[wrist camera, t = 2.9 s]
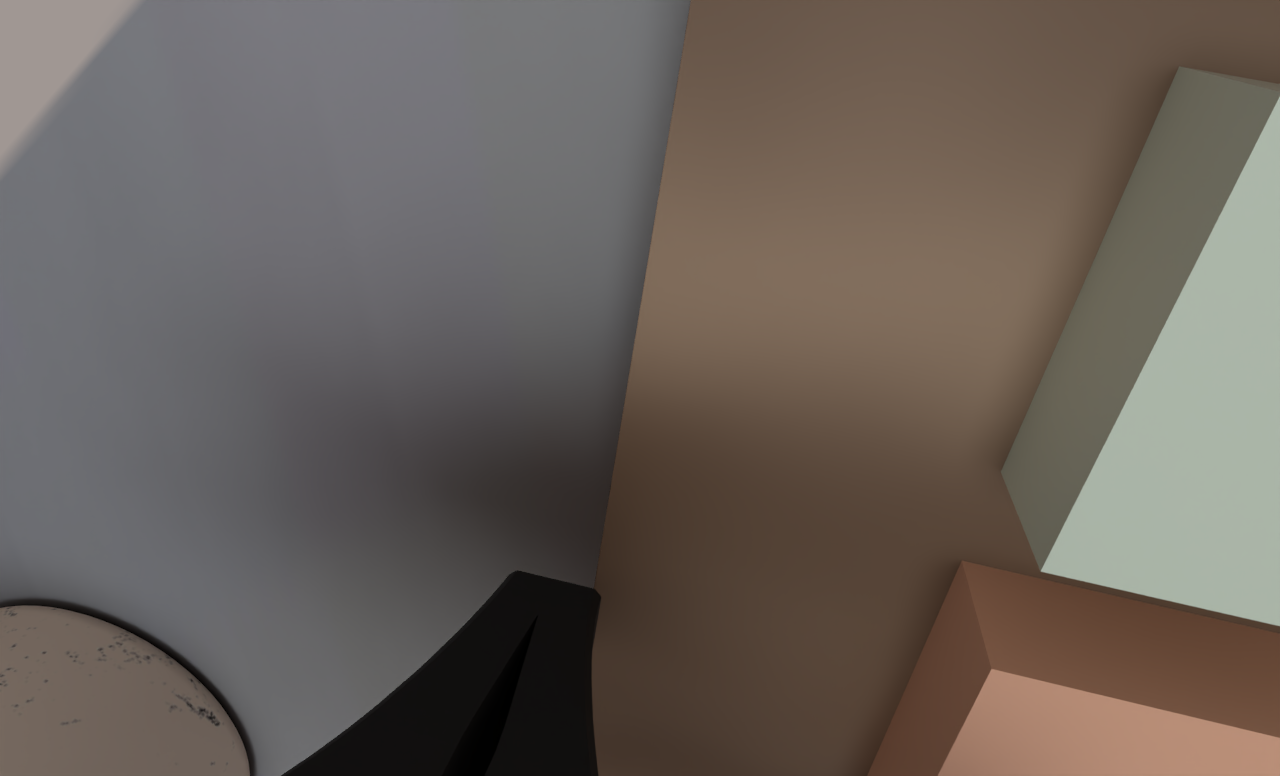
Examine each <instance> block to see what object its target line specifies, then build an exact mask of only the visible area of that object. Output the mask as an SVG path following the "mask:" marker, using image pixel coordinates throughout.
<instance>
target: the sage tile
mask: <svg viewBox="0 0 1280 776" xmlns="http://www.w3.org/2000/svg"><path fill="white" fill-rule="evenodd" d="M1001 474H1002V476H1003V479H1004V481H1005V484H1006V486H1007V489H1008V491H1009V494H1010V496H1011V499H1012V501H1013V504H1014V506H1015V509H1016V511H1017V514H1018V516H1019V519H1020V521H1021V524H1022V526H1023V529H1024V531H1025V534H1026V536H1027V539H1028V541H1029V544H1030V546H1031V549H1032V551H1033V554H1034V556H1035V559H1036V561H1037V564H1038V566H1039V569H1040V571H1041V572H1045V573H1049V574H1054V575H1058V576H1063V577H1067V578H1071V579H1076V580H1080V581H1084V582H1089V583H1093V584H1098V585H1102V586H1106V587H1111V588H1115V589H1119V590H1124V591H1128V592H1133V593H1137V594H1141V595H1146V596H1150V597H1154V598H1159V599H1163V600H1167V601H1172V602H1176V603H1181V604H1185V605H1189V606H1194V607H1198V608H1202V609H1207V610H1211V611H1216V612H1220V613H1224V614H1229V615H1233V616H1237V617H1242V618H1246V619H1251V620H1255V621H1259V622H1264V623H1268V624H1272V625H1277V626H1280V84H1277V83H1271V82H1265V81H1260V80H1254V79H1248V78H1243V77H1237V76H1231V75H1226V74H1220V73H1214V72H1209V71H1203V70H1197V69H1192V68H1186V67H1180V66H1179V68H1178V70H1177V73H1176V75H1175V77H1174V79H1173V82H1172V84H1171V86H1170V88H1169V91H1168V93H1167V95H1166V98H1165V100H1164V102H1163V104H1162V107H1161V109H1160V111H1159V113H1158V116H1157V118H1156V120H1155V123H1154V125H1153V127H1152V129H1151V132H1150V134H1149V136H1148V138H1147V141H1146V143H1145V145H1144V148H1143V150H1142V152H1141V154H1140V157H1139V159H1138V161H1137V163H1136V166H1135V168H1134V170H1133V173H1132V175H1131V177H1130V179H1129V182H1128V184H1127V186H1126V188H1125V191H1124V193H1123V195H1122V198H1121V200H1120V202H1119V204H1118V207H1117V209H1116V211H1115V213H1114V216H1113V218H1112V220H1111V223H1110V225H1109V227H1108V229H1107V232H1106V234H1105V236H1104V238H1103V241H1102V243H1101V245H1100V248H1099V250H1098V252H1097V254H1096V257H1095V259H1094V261H1093V264H1092V266H1091V268H1090V270H1089V273H1088V275H1087V277H1086V279H1085V282H1084V284H1083V286H1082V289H1081V291H1080V293H1079V295H1078V298H1077V300H1076V302H1075V304H1074V307H1073V309H1072V311H1071V314H1070V316H1069V318H1068V320H1067V323H1066V325H1065V327H1064V329H1063V332H1062V334H1061V336H1060V339H1059V341H1058V343H1057V345H1056V348H1055V350H1054V352H1053V354H1052V357H1051V359H1050V361H1049V364H1048V366H1047V368H1046V370H1045V373H1044V375H1043V377H1042V379H1041V382H1040V384H1039V386H1038V389H1037V391H1036V393H1035V395H1034V398H1033V400H1032V402H1031V404H1030V407H1029V409H1028V411H1027V414H1026V416H1025V418H1024V420H1023V423H1022V425H1021V427H1020V429H1019V432H1018V434H1017V436H1016V439H1015V441H1014V443H1013V445H1012V448H1011V450H1010V452H1009V454H1008V457H1007V459H1006V461H1005V464H1004V466H1003V468H1002V470H1001Z"/></svg>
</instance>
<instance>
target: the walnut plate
mask: <svg viewBox="0 0 1280 776" xmlns="http://www.w3.org/2000/svg"><path fill="white" fill-rule="evenodd" d="M1179 66H1180V67H1186V68H1192V69H1197V70H1203V71H1209V72H1214V73H1220V74H1226V75H1231V76H1237V77H1243V78H1248V79H1254V80H1260V81H1265V82H1271V83H1277V84H1280V0H691V3H690V9H689V15H688V21H687V27H686V33H685V39H684V45H683V51H682V57H681V63H680V69H679V75H678V81H677V88H676V94H675V100H674V106H673V112H672V118H671V124H670V130H669V136H668V142H667V148H666V154H665V160H664V166H663V172H662V178H661V184H660V190H659V197H658V203H657V209H656V215H655V221H654V227H653V233H652V239H651V245H650V251H649V257H648V263H647V269H646V275H645V281H644V287H643V293H642V299H641V306H640V312H639V318H638V324H637V330H636V336H635V342H634V348H633V354H632V360H631V366H630V372H629V378H628V384H627V390H626V396H625V402H624V408H623V415H622V421H621V427H620V433H619V439H618V445H617V451H616V457H615V463H614V469H613V475H612V481H611V487H610V493H609V499H608V505H607V511H606V518H605V524H604V530H603V536H602V542H601V548H600V554H599V560H598V566H597V572H596V578H595V584H594V589H596V591H597V592H598V593H599V594H600V596H601V603H600V609H599V614H598V620H597V626H596V632H595V638H594V644H593V649H592V705H593V724H594V738H595V748H596V757H597V767H598V775H599V776H867V775H868V773H869V770H870V768H871V766H872V764H873V761H874V759H875V757H876V755H877V752H878V750H879V748H880V745H881V743H882V741H883V739H884V736H885V734H886V732H887V730H888V727H889V725H890V723H891V720H892V718H893V716H894V714H895V711H896V709H897V707H898V705H899V702H900V700H901V698H902V695H903V693H904V691H905V689H906V686H907V684H908V682H909V680H910V677H911V675H912V673H913V670H914V668H915V666H916V664H917V661H918V659H919V657H920V655H921V652H922V650H923V648H924V645H925V643H926V641H927V639H928V636H929V634H930V632H931V630H932V627H933V625H934V623H935V620H936V618H937V616H938V614H939V611H940V609H941V607H942V605H943V602H944V600H945V598H946V595H947V593H948V591H949V589H950V586H951V584H952V582H953V579H954V577H955V575H956V573H957V570H958V568H959V566H960V564H961V561H966V562H970V563H974V564H979V565H983V566H987V567H992V568H996V569H1001V570H1005V571H1009V572H1014V573H1018V574H1022V575H1027V576H1031V577H1035V578H1040V579H1044V580H1048V581H1053V582H1057V583H1062V584H1066V585H1070V586H1075V587H1079V588H1083V589H1088V590H1092V591H1096V592H1101V593H1105V594H1110V595H1114V596H1118V597H1123V598H1127V599H1131V600H1136V601H1140V602H1144V603H1149V604H1153V605H1157V606H1162V607H1166V608H1171V609H1175V610H1179V611H1184V612H1188V613H1192V614H1197V615H1201V616H1205V617H1210V618H1214V619H1218V620H1223V621H1227V622H1232V623H1236V624H1240V625H1245V626H1249V627H1253V628H1258V629H1262V630H1266V631H1271V632H1275V633H1280V626H1277V625H1272V624H1268V623H1264V622H1259V621H1255V620H1251V619H1246V618H1242V617H1237V616H1233V615H1229V614H1224V613H1220V612H1216V611H1211V610H1207V609H1202V608H1198V607H1194V606H1189V605H1185V604H1181V603H1176V602H1172V601H1167V600H1163V599H1159V598H1154V597H1150V596H1146V595H1141V594H1137V593H1133V592H1128V591H1124V590H1119V589H1115V588H1111V587H1106V586H1102V585H1098V584H1093V583H1089V582H1084V581H1080V580H1076V579H1071V578H1067V577H1063V576H1058V575H1054V574H1049V573H1045V572H1041V571H1040V569H1039V566H1038V564H1037V561H1036V559H1035V556H1034V554H1033V551H1032V549H1031V546H1030V544H1029V541H1028V539H1027V536H1026V534H1025V531H1024V529H1023V526H1022V524H1021V521H1020V519H1019V516H1018V514H1017V511H1016V509H1015V506H1014V504H1013V501H1012V499H1011V496H1010V494H1009V491H1008V489H1007V486H1006V484H1005V481H1004V479H1003V476H1002V474H1001V470H1002V468H1003V466H1004V464H1005V461H1006V459H1007V457H1008V454H1009V452H1010V450H1011V448H1012V445H1013V443H1014V441H1015V439H1016V436H1017V434H1018V432H1019V429H1020V427H1021V425H1022V423H1023V420H1024V418H1025V416H1026V414H1027V411H1028V409H1029V407H1030V404H1031V402H1032V400H1033V398H1034V395H1035V393H1036V391H1037V389H1038V386H1039V384H1040V382H1041V379H1042V377H1043V375H1044V373H1045V370H1046V368H1047V366H1048V364H1049V361H1050V359H1051V357H1052V354H1053V352H1054V350H1055V348H1056V345H1057V343H1058V341H1059V339H1060V336H1061V334H1062V332H1063V329H1064V327H1065V325H1066V323H1067V320H1068V318H1069V316H1070V314H1071V311H1072V309H1073V307H1074V304H1075V302H1076V300H1077V298H1078V295H1079V293H1080V291H1081V289H1082V286H1083V284H1084V282H1085V279H1086V277H1087V275H1088V273H1089V270H1090V268H1091V266H1092V264H1093V261H1094V259H1095V257H1096V254H1097V252H1098V250H1099V248H1100V245H1101V243H1102V241H1103V238H1104V236H1105V234H1106V232H1107V229H1108V227H1109V225H1110V223H1111V220H1112V218H1113V216H1114V213H1115V211H1116V209H1117V207H1118V204H1119V202H1120V200H1121V198H1122V195H1123V193H1124V191H1125V188H1126V186H1127V184H1128V182H1129V179H1130V177H1131V175H1132V173H1133V170H1134V168H1135V166H1136V163H1137V161H1138V159H1139V157H1140V154H1141V152H1142V150H1143V148H1144V145H1145V143H1146V141H1147V138H1148V136H1149V134H1150V132H1151V129H1152V127H1153V125H1154V123H1155V120H1156V118H1157V116H1158V113H1159V111H1160V109H1161V107H1162V104H1163V102H1164V100H1165V98H1166V95H1167V93H1168V91H1169V88H1170V86H1171V84H1172V82H1173V79H1174V77H1175V75H1176V73H1177V70H1178V68H1179Z"/></svg>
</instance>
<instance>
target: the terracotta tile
mask: <svg viewBox="0 0 1280 776" xmlns="http://www.w3.org/2000/svg"><path fill="white" fill-rule="evenodd" d="M867 776H1280V633H1275V632H1271V631H1266V630H1262V629H1258V628H1253V627H1249V626H1245V625H1240V624H1236V623H1232V622H1227V621H1223V620H1218V619H1214V618H1210V617H1205V616H1201V615H1197V614H1192V613H1188V612H1184V611H1179V610H1175V609H1171V608H1166V607H1162V606H1157V605H1153V604H1149V603H1144V602H1140V601H1136V600H1131V599H1127V598H1123V597H1118V596H1114V595H1110V594H1105V593H1101V592H1096V591H1092V590H1088V589H1083V588H1079V587H1075V586H1070V585H1066V584H1062V583H1057V582H1053V581H1048V580H1044V579H1040V578H1035V577H1031V576H1027V575H1022V574H1018V573H1014V572H1009V571H1005V570H1001V569H996V568H992V567H987V566H983V565H979V564H974V563H970V562H966V561H961V564H960V566H959V568H958V570H957V573H956V575H955V577H954V579H953V582H952V584H951V586H950V589H949V591H948V593H947V595H946V598H945V600H944V602H943V605H942V607H941V609H940V611H939V614H938V616H937V618H936V620H935V623H934V625H933V627H932V630H931V632H930V634H929V636H928V639H927V641H926V643H925V645H924V648H923V650H922V652H921V655H920V657H919V659H918V661H917V664H916V666H915V668H914V670H913V673H912V675H911V677H910V680H909V682H908V684H907V686H906V689H905V691H904V693H903V695H902V698H901V700H900V702H899V705H898V707H897V709H896V711H895V714H894V716H893V718H892V720H891V723H890V725H889V727H888V730H887V732H886V734H885V736H884V739H883V741H882V743H881V745H880V748H879V750H878V752H877V755H876V757H875V759H874V761H873V764H872V766H871V768H870V770H869V773H868V775H867Z"/></svg>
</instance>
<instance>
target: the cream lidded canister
mask: <svg viewBox="0 0 1280 776" xmlns="http://www.w3.org/2000/svg"><path fill="white" fill-rule="evenodd" d="M0 776H250V770H249V762H248V758H247V754H246V750H245V748H244V745H243V742H242V740H241V738H240V736H239V733H238V731H237V729H236V728H235V726H234V724H233V723H232V721H231V719H230V718H229V716H228V715H227V713H226V712H225V710H224V709H223V708H222V706H221V705H220V703H219V702H218V701H217V700H216V699H215V698H214V696H213V695H212V694H211V693H210V692H209V691H208V690H207V689H206V688H205V686H204V685H203V684H202V683H201V682H200V681H199V680H198V679H196V678H195V677H194V676H193V675H192V674H191V673H190V672H189V671H188V670H186V669H185V668H184V667H183V666H181V665H180V664H179V663H178V662H176V661H175V660H174V659H172V658H171V657H170V656H168V655H167V654H165V653H164V652H163V651H161V650H160V649H158V648H156V647H155V646H153V645H152V644H150V643H149V642H147V641H145V640H143V639H141V638H140V637H138V636H136V635H134V634H132V633H130V632H128V631H126V630H124V629H122V628H120V627H118V626H115V625H113V624H110V623H108V622H105V621H103V620H100V619H97V618H94V617H91V616H88V615H85V614H81V613H77V612H74V611H70V610H65V609H60V608H54V607H46V606H29V605H23V606H11V607H3V608H0Z"/></svg>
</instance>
